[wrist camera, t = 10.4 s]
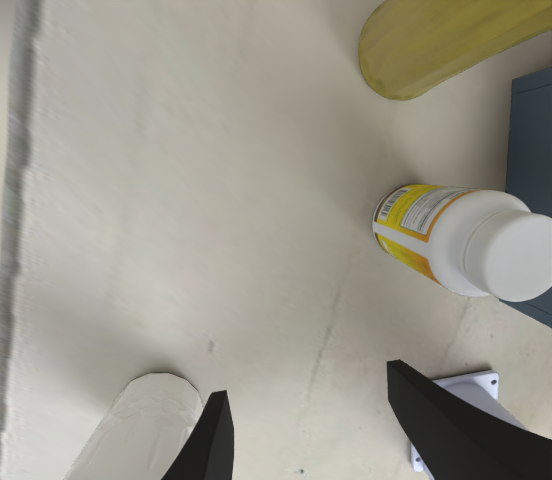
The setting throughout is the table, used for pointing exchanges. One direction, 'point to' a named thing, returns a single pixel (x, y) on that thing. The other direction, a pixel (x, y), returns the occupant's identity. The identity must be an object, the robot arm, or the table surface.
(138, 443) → the white cup
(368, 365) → the table surface
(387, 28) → the vase
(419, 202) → the supplement bottle
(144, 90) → the table surface
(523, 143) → the open box
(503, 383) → the table surface
